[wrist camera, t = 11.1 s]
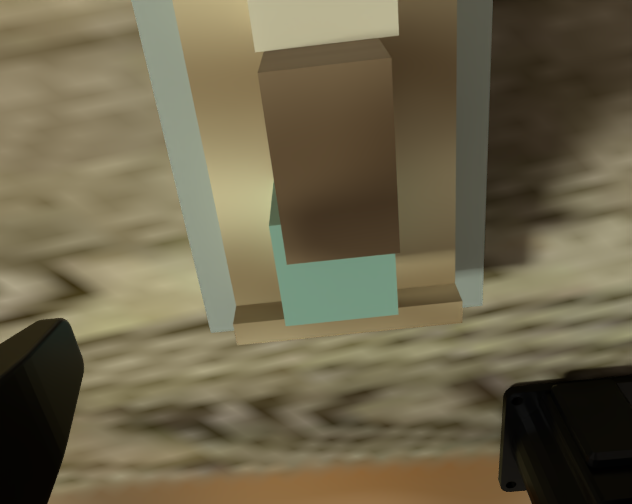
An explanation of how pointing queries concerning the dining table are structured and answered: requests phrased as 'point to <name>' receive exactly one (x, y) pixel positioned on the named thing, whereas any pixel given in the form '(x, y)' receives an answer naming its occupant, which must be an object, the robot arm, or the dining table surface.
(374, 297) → the block
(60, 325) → the robot arm
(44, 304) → the dining table surface
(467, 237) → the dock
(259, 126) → the tray
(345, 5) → the block
